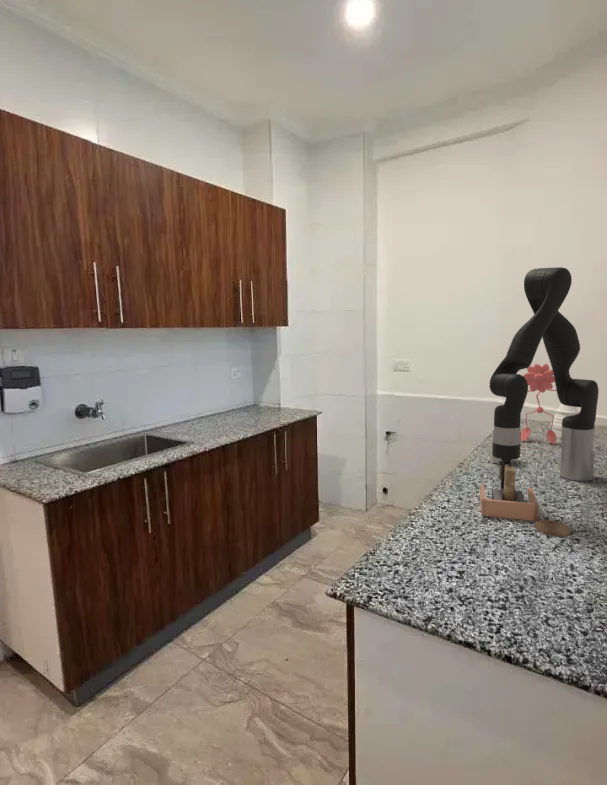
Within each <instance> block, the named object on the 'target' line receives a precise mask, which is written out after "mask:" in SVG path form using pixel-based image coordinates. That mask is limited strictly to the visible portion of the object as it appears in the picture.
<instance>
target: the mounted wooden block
mask: <svg viewBox="0 0 607 785" xmlns="http://www.w3.org/2000/svg"><path fill="white" fill-rule="evenodd" d="M516 474H517V472H516V467H515V466H514V467H507V466H505V473H504V488H501V487H500V489H498V488H497V489H496V488H492V489H491V499H492V500H503V501H514V502H526V501H525V497H524V493H523V491H521V490H516V489H515V488H516Z"/></svg>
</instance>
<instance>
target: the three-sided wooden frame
mask: <svg viewBox="0 0 607 785" xmlns="http://www.w3.org/2000/svg"><path fill="white" fill-rule="evenodd" d="M536 497H537V496H536V495H535V493H534V490H533V488H532V487H528V488H527V502H526V501H525V502H514V501H503V500H492V498H486V490H485V484H484V483H480V484H479V502H480V513H481V516H483V517H493V518H503V519H504V518H505V519H512V520H514V519H515V520H523V521H524V520H525V521H533V522H534V521H536V522H537V521H539V509H540V508H539V506H540V504H539V503H538V500H537V498H536Z"/></svg>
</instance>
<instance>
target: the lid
mask: <svg viewBox="0 0 607 785" xmlns="http://www.w3.org/2000/svg"><path fill="white" fill-rule="evenodd" d="M534 528H535V529H536V530H537V532H540V533H542V534H545V535H548V536H553V537H566V536H569V535H571V533H572V529H571V527H570V526H569V525H567V524H565V523H563V522H560V521H556V520H549V519H548V520H547V519H542V520H538V521H536V522H535V524H534Z"/></svg>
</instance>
